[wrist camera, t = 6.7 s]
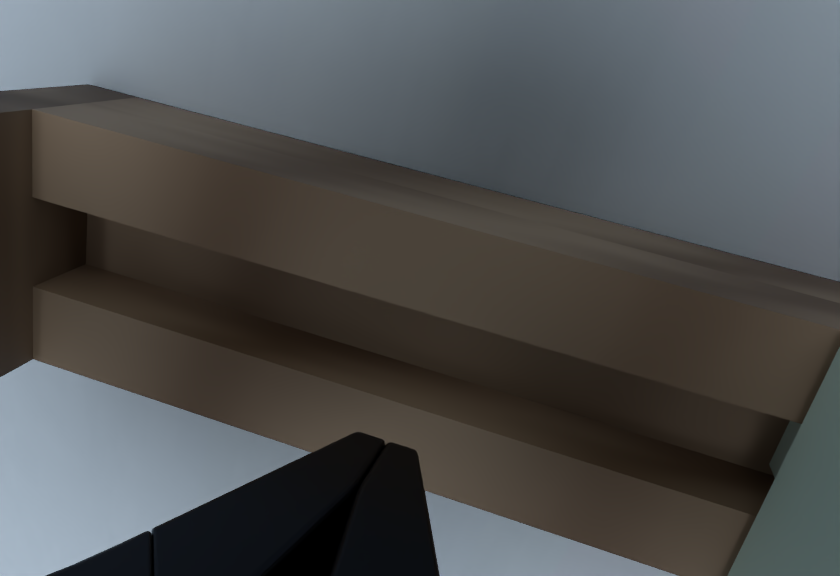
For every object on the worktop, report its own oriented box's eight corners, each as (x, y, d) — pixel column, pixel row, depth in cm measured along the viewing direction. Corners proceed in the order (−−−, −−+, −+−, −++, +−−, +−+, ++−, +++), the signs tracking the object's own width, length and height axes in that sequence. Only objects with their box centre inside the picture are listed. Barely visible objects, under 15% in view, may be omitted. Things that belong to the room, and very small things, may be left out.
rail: (1554, 459, 11) (2036, 669, 7) (1322, 691, 13) (1610, 948, 9) (88, 77, 15) (-79, 87, 11) (82, 299, 17) (-61, 369, 13)
